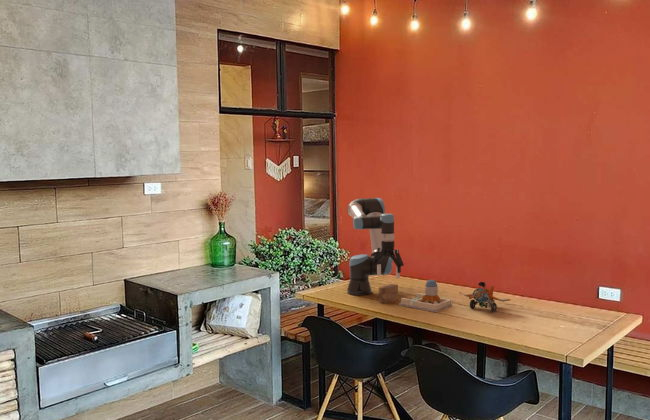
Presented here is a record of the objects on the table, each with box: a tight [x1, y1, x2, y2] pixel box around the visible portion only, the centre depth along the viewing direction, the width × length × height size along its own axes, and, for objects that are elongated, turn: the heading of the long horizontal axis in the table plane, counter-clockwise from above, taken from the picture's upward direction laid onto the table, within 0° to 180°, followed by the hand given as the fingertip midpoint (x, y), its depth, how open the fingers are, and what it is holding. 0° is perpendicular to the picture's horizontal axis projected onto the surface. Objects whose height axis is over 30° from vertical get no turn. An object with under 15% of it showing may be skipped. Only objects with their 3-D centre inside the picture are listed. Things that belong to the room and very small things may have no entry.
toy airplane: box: [458, 281, 512, 313], centre depth 318 cm, size 29×23×15 cm
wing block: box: [378, 283, 399, 305], centre depth 341 cm, size 5×12×9 cm, turn 137°
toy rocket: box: [422, 279, 441, 304], centre depth 326 cm, size 10×11×15 cm
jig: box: [398, 292, 453, 313], centre depth 330 cm, size 24×18×4 cm
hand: (388, 276), depth 340 cm, fingers open, 13 cm apart
